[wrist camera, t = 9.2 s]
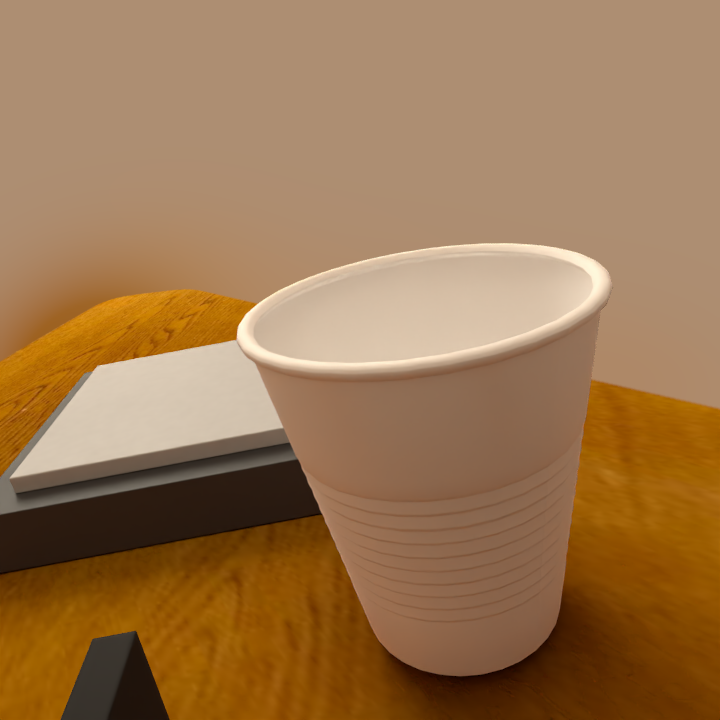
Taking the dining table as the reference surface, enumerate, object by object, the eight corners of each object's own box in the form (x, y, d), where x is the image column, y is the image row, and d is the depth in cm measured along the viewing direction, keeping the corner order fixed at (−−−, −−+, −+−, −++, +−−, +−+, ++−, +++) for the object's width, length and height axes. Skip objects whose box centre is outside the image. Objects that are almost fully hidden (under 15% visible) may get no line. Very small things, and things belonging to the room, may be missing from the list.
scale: (342, 366, 44) (332, 314, 42) (359, 506, 29) (344, 432, 28) (98, 412, 44) (80, 361, 42) (-11, 575, 29) (-44, 505, 28)
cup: (464, 489, 29) (430, 233, 25) (691, 603, 21) (695, 257, 17) (262, 615, 24) (177, 321, 20) (461, 825, 16) (388, 412, 12)
